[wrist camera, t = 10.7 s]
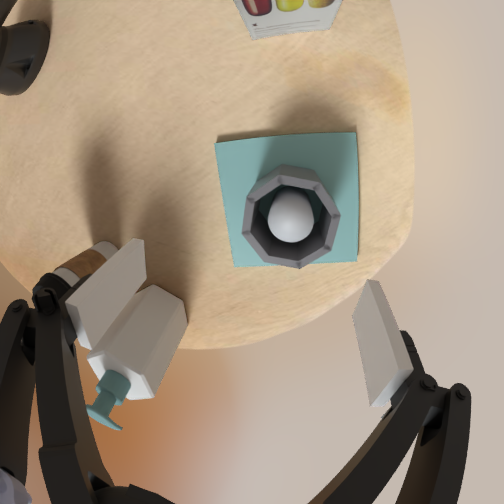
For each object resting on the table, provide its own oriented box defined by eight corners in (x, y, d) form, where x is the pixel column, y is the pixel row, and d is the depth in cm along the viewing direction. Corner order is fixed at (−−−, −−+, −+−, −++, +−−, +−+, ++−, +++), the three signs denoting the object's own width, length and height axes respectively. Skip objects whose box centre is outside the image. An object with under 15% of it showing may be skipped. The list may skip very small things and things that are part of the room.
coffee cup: (125, 235, 38) (61, 290, 24) (133, 283, 41) (82, 345, 28) (85, 231, 38) (22, 277, 25) (94, 275, 42) (42, 328, 29)
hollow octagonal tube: (248, 231, 34) (238, 257, 27) (259, 159, 30) (249, 169, 23) (319, 244, 33) (324, 273, 27) (336, 174, 29) (347, 188, 23)
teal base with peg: (216, 143, 30) (197, 148, 24) (354, 132, 27) (370, 134, 21) (235, 264, 37) (224, 293, 31) (355, 258, 34) (366, 287, 28)
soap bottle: (158, 336, 46) (104, 435, 26) (125, 298, 43) (54, 393, 24) (200, 320, 43) (148, 440, 23) (165, 276, 40) (86, 391, 20)
